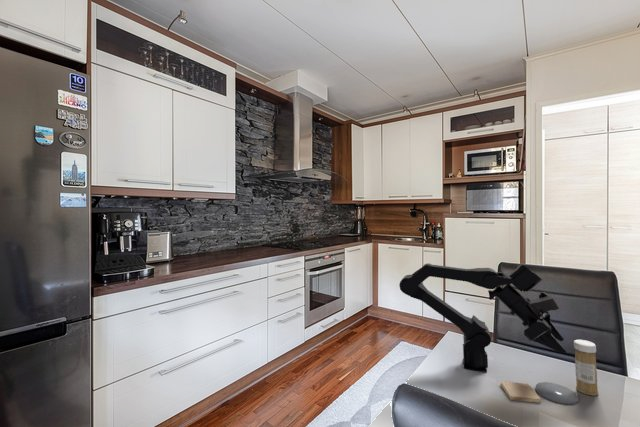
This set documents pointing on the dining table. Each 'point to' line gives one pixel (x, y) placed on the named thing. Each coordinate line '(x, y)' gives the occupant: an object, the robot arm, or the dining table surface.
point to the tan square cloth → (520, 392)
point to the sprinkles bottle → (586, 367)
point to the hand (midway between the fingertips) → (563, 346)
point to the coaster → (556, 393)
